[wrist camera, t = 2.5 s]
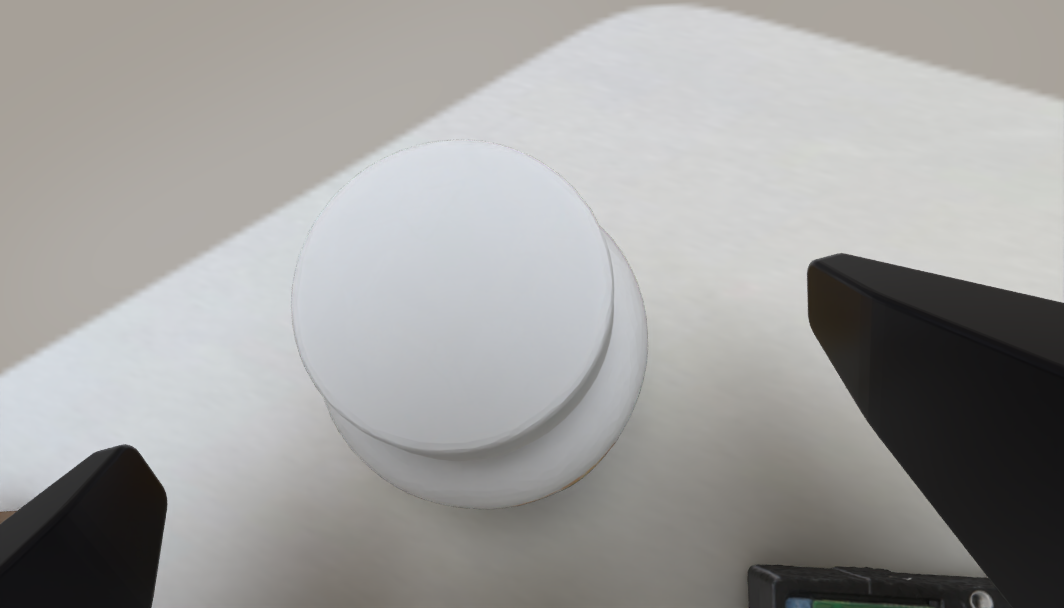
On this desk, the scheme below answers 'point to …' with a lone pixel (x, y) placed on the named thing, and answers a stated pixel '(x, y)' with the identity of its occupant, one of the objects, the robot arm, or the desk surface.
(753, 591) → the disk drive
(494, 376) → the supplement bottle
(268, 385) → the desk surface
